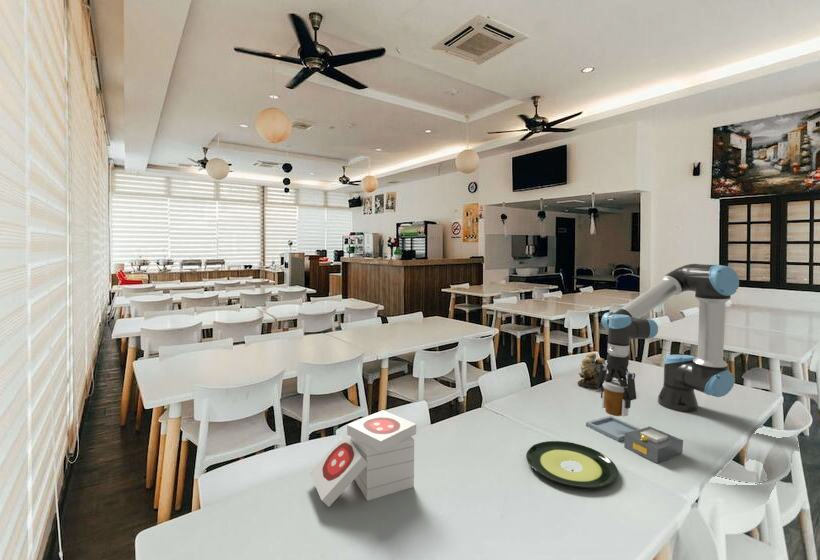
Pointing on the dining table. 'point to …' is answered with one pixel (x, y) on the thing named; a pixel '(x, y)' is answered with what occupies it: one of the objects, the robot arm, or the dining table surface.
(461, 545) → the dining table surface
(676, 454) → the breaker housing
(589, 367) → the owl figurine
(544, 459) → the plate
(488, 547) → the dining table surface
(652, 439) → the button
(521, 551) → the dining table surface
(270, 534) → the dining table surface
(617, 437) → the tray
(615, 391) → the disposable coffee cup
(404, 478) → the pizza boxes
